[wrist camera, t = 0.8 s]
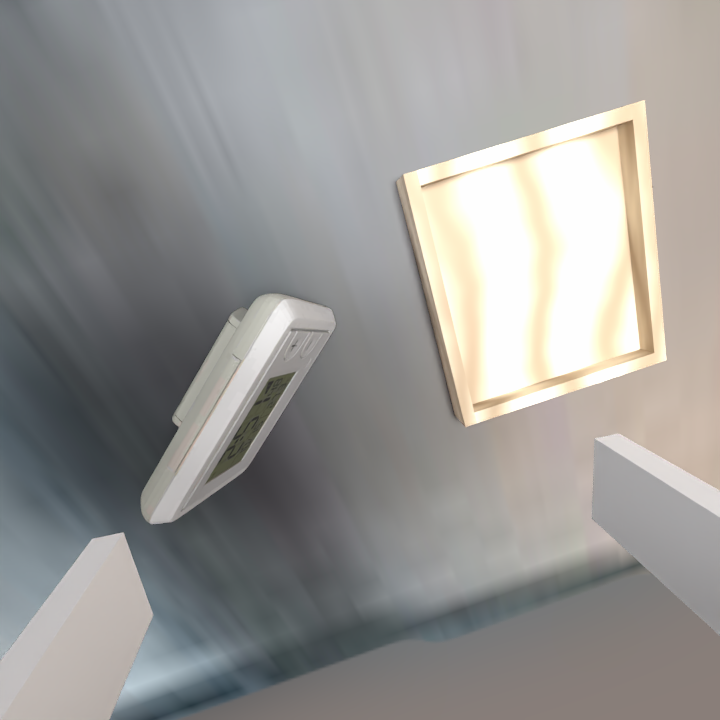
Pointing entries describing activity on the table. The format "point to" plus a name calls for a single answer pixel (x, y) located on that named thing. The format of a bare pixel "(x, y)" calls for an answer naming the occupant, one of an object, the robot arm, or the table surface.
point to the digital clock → (236, 400)
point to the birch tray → (540, 262)
